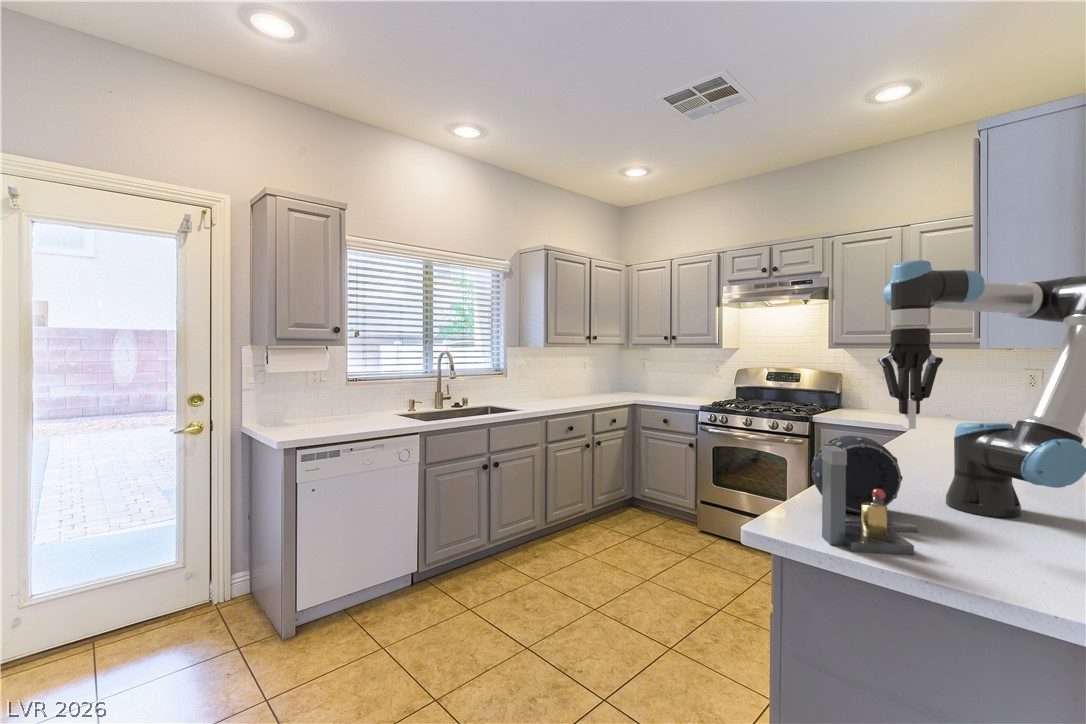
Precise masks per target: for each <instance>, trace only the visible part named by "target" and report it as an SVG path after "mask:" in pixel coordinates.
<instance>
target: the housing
mask: <svg viewBox="0 0 1086 724" xmlns="http://www.w3.org/2000/svg"><path fill="white" fill-rule="evenodd" d="M887 515H888V505H887V506H885V505H882V504H878V503H872V502H864V503H862V504H861V515H860V521H861V533H862V534H863V535H865V536H867V537H871V538H876V539H885V538H887Z"/></svg>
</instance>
